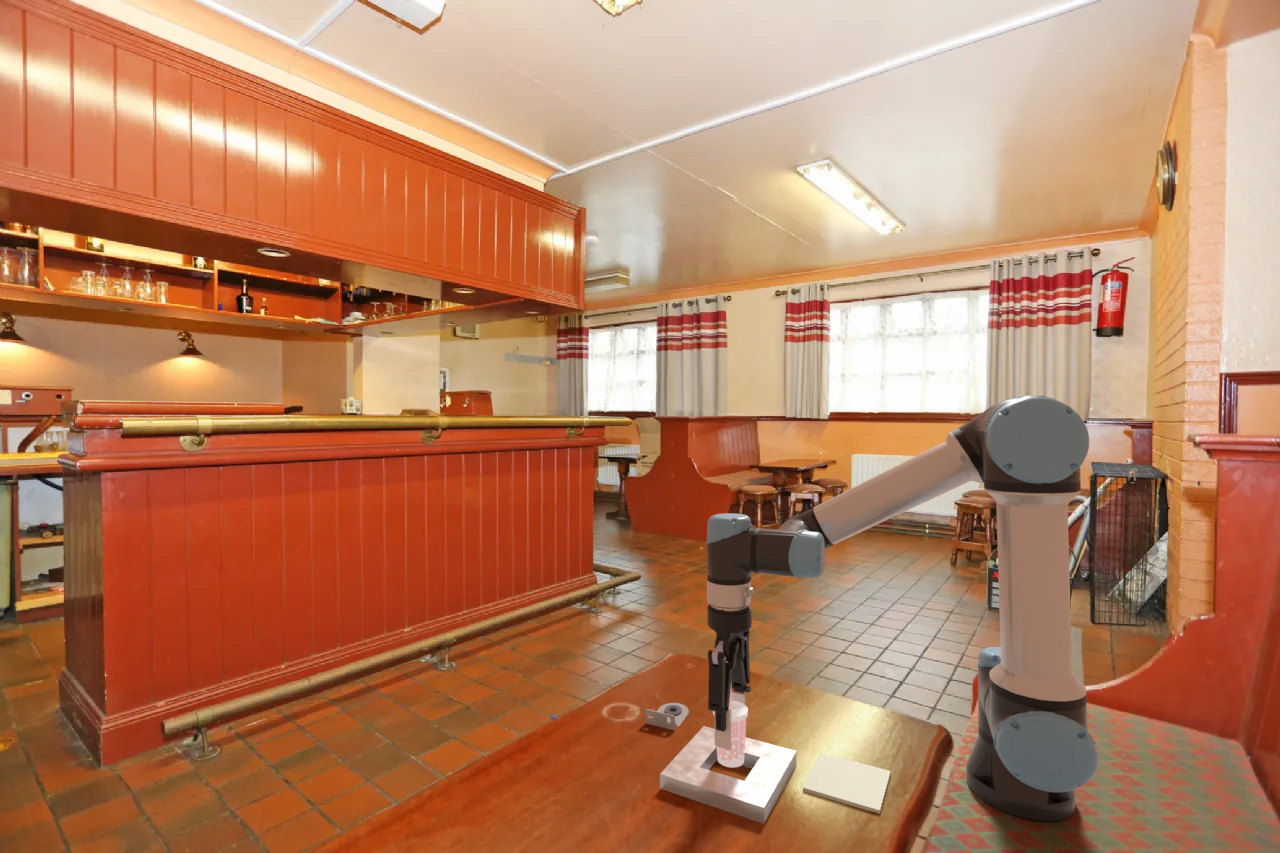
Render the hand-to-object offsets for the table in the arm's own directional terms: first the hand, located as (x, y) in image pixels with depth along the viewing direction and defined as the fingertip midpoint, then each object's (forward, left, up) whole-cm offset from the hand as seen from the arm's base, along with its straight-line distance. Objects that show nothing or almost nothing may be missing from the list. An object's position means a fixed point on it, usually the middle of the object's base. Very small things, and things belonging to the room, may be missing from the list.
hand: (730, 737), depth 104 cm
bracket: (+19, -13, -7) cm, 24 cm away
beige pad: (-18, -8, -7) cm, 21 cm away
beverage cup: (0, 0, -4) cm, 4 cm away
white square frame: (0, 0, -7) cm, 7 cm away
